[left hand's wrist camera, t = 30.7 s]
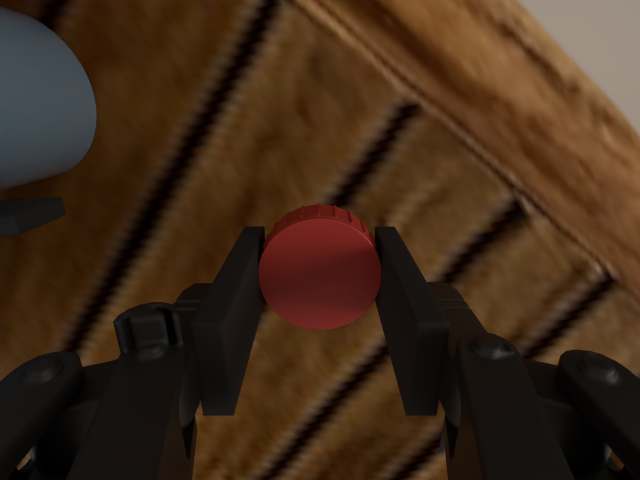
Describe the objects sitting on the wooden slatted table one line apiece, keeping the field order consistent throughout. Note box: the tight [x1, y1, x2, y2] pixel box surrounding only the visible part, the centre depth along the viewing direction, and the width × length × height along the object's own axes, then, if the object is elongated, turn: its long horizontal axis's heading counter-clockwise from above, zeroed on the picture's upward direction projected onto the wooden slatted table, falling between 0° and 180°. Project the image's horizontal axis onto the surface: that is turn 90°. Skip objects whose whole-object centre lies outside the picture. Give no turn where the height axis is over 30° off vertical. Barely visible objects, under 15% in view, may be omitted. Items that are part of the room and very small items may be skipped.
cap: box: [258, 204, 381, 330], centre depth 14 cm, size 4×4×2 cm
